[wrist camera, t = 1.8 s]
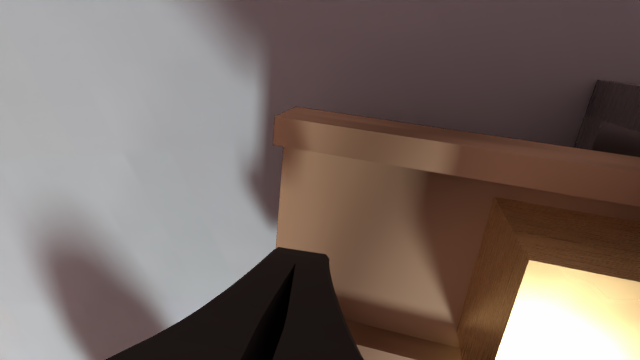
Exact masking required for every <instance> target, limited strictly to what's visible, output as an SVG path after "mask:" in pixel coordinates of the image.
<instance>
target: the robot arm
mask: <svg viewBox="0 0 640 360" xmlns="http://www.w3.org/2000/svg"><path fill="white" fill-rule="evenodd" d="M106 360H364V359H363V357H362V355H361V353H360V351H359V349H358V347H357V345H356V343H355V341H354V339H353V337H352V335H351V332H350V330H349V328H348V325H347V323H346V321H345V318H344V316H343V313H342V311H341V308H340V305H339V302H338V299H337V296H336V293H335V290H334V286H333V282H332V278H331V273H330V267H329V258H328V256H327V255H326V254H322V253H315V252H308V251H302V250H295V249H289V248H282V247H277V248H276V249H275V250H273V251H272V252H271V253H270V254H269V255H268V256H266V257H265V258H264V259H263V260H262V261H261V262H260V263H259V264H257V265H256V266H255V267H254V268H253V269H252V270H250V271H249V272H248V273H247V274H246V275H244V276H243V277H242V278H241V279H239V280H238V281H237V282H236V283H234V284H233V285H232V286H231V287H229V288H228V289H227V290H225V291H224V292H223V293H221V294H220V295H218V296H217V297H216V298H214V299H213V300H211V301H210V302H209V303H207V304H206V305H204V306H203V307H202V308H200V309H199V310H197V311H196V312H194V313H192V314H191V315H189V316H188V317H186V318H185V319H183V320H181V321H180V322H178V323H176V324H174V325H173V326H171V327H169V328H167V329H166V330H164V331H162V332H160V333H158V334H157V335H155V336H153V337H151V338H149V339H147V340H145V341H143V342H141V343H139V344H137V345H134V346H132V347H130V348H128V349H126V350H124V351H122V352H120V353H118V354H116V355H114V356H112V357H110V358H108V359H106Z"/></svg>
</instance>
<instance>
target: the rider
mask: <svg viewBox="0 0 640 360" xmlns="http://www.w3.org/2000/svg"><path fill="white" fill-rule="evenodd" d="M457 336H458V342H459V349H460V355H461V360H640V222H636V221H631V220H625V219H619V218H613V217H608V216H602V215H596V214H591V213H585V212H579V211H573V210H568V209H562V208H556V207H550V206H545V205H539V204H533V203H528V202H522V201H516V200H510V199H505V198H499V197H494V199H493V202H492V206H491V209H490V213H489V216H488V220H487V224H486V227H485V231H484V234H483V238H482V241H481V245H480V248H479V252H478V255H477V259H476V262H475V266H474V269H473V273H472V276H471V280H470V283H469V287H468V290H467V294H466V297H465V301H464V304H463V308H462V311H461V315H460V318H459V322H458V325H457Z"/></svg>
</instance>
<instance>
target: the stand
mask: <svg viewBox="0 0 640 360" xmlns="http://www.w3.org/2000/svg"><path fill="white" fill-rule="evenodd" d="M574 148H580V149H587V150H594V151H600V152H607V153H614V154H621V155H628V156H634V157H640V85H636V84H628V83H619V82H610V81H601V80H597V83H596V86H595V89H594V92H593V95H592V98H591V101H590V103H589V106H588V109H587V112H586V115H585V118H584V121H583V124H582V127H581V129H580V132H579V135H578V138H577V141H576V144H575V147H574Z"/></svg>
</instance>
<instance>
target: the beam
mask: <svg viewBox="0 0 640 360" xmlns="http://www.w3.org/2000/svg"><path fill="white" fill-rule="evenodd" d="M273 145H275V146H281V147H283V160H282V173H281V186H280V200H279V213H278V226H277V239H276V248H277V247H282V248H289V249H295V250H302V251H308V252H315V253H322V254H326V255H327V256H328V258H329V267H330V273H331V278H332V282H333V286H334V290H335V293H336V296H337V299H338V302H339V305H340V308H341V311H342V313H343V316H344V318H345V321H346V323H347V325H348V328H349V330H350V332H351V335H352V337H353V339H354V341H355V343H356V345H357V347H358V349H359V351H360V353H361V355H362V357H363V359H364V360H461V355H460V349H459V342H458V336H457V325H458V322H459V318H460V315H461V311H462V308H463V304H464V301H465V297H466V294H467V290H468V287H469V283H470V280H471V276H472V273H473V269H474V266H475V262H476V259H477V255H478V252H479V248H480V245H481V241H482V238H483V234H484V231H485V227H486V224H487V220H488V216H489V213H490V209H491V206H492V202H493V199H494V197H499V198H505V199H510V200H516V201H522V202H528V203H533V204H539V205H545V206H550V207H556V208H562V209H568V210H573V211H579V212H585V213H591V214H596V215H602V216H608V217H613V218H619V219H625V220H631V221H636V222H640V157H634V156H628V155H621V154H614V153H607V152H600V151H594V150H587V149H580V148H573V147H566V146H560V145H553V144H546V143H539V142H532V141H526V140H519V139H512V138H505V137H498V136H492V135H485V134H478V133H471V132H464V131H458V130H451V129H444V128H437V127H430V126H424V125H417V124H410V123H403V122H396V121H390V120H383V119H376V118H369V117H362V116H356V115H349V114H342V113H335V112H328V111H322V110H315V109H308V108H301V107H294V108H292V109H290V110H288V111H286V112H283V113H281V114H279V115H277V116H275V119H274V135H273Z"/></svg>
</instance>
